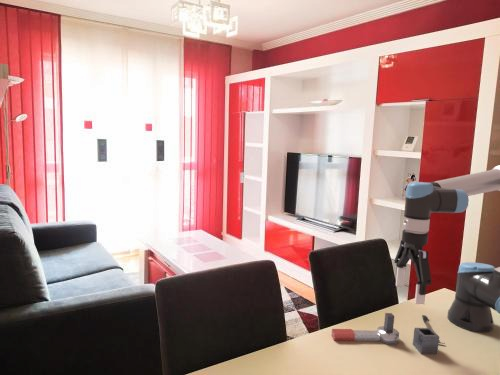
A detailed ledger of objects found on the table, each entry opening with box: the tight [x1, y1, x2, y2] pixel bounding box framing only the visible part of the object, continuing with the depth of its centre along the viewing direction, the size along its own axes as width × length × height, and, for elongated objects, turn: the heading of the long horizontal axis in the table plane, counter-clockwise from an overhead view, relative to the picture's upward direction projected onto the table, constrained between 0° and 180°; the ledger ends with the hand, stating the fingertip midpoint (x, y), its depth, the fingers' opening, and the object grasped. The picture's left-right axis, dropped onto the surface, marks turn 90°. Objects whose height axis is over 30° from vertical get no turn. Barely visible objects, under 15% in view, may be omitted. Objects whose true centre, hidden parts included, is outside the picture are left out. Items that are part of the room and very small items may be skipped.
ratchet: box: [330, 312, 400, 345], centre depth 127 cm, size 22×7×9 cm, turn 93°
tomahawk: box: [421, 314, 447, 347], centre depth 135 cm, size 21×7×1 cm, turn 165°
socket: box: [412, 327, 440, 355], centre depth 122 cm, size 5×5×6 cm
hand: (409, 294), depth 121 cm, fingers open, 13 cm apart
